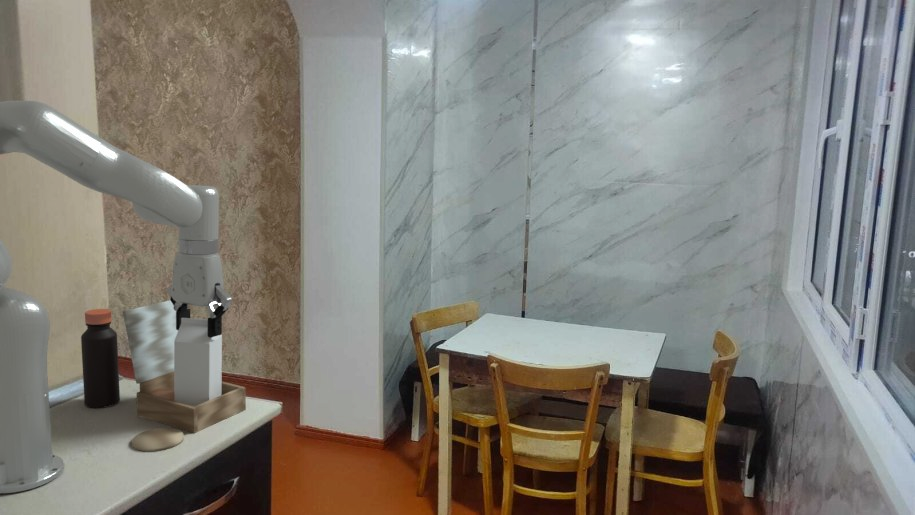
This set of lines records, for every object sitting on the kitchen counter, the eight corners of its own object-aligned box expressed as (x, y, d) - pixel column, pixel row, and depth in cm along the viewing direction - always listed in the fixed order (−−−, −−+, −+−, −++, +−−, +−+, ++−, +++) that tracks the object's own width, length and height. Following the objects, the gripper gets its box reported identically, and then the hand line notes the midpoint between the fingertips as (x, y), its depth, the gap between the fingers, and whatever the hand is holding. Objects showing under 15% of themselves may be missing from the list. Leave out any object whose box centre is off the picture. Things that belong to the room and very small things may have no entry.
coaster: (155, 455, 126) (155, 452, 126) (121, 444, 130) (120, 441, 130) (193, 437, 134) (193, 434, 134) (160, 427, 138) (160, 424, 138)
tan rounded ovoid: (163, 420, 142) (162, 396, 141) (147, 415, 144) (147, 392, 143) (180, 412, 146) (179, 390, 145) (165, 408, 148) (164, 386, 147)
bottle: (110, 409, 146) (106, 316, 143) (78, 408, 146) (72, 315, 143) (125, 397, 153) (122, 308, 149) (94, 396, 153) (90, 307, 149)
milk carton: (209, 415, 141) (209, 324, 139) (174, 413, 141) (174, 322, 139) (221, 403, 148) (222, 316, 146) (188, 401, 148) (188, 313, 146)
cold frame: (194, 433, 136) (191, 325, 133) (127, 412, 145) (122, 310, 141) (245, 409, 149) (244, 310, 145) (181, 392, 157) (178, 297, 153)
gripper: (152, 244, 140) (153, 329, 143) (216, 254, 133) (216, 343, 135) (182, 241, 147) (182, 322, 150) (245, 250, 140) (244, 335, 142)
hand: (198, 332), depth 143 cm, fingers closed on milk carton, 8 cm apart
